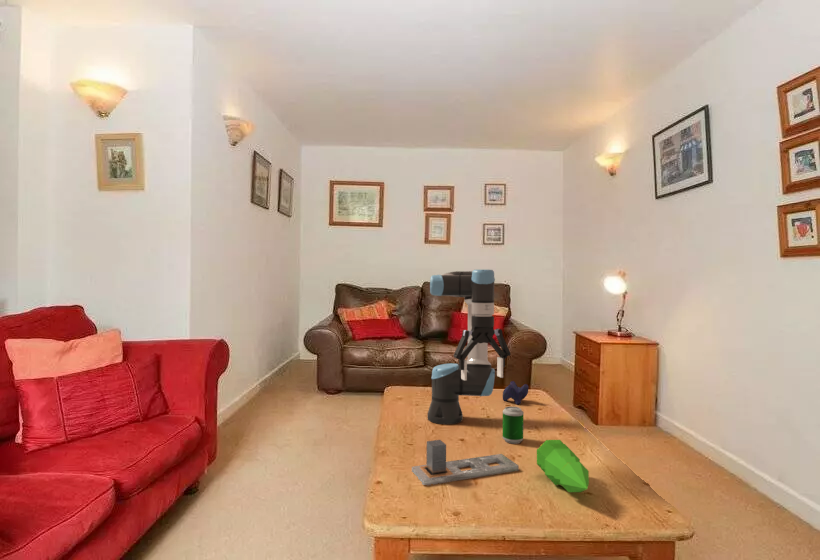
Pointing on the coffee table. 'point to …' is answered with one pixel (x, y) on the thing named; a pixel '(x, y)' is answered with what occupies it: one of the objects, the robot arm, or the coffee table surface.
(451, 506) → the coffee table surface
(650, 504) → the coffee table surface
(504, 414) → the soda can
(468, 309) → the robot arm
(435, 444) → the rectangular block
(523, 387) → the tetrapod
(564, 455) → the decorative tree
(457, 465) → the grey board with holes
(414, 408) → the coffee table surface
